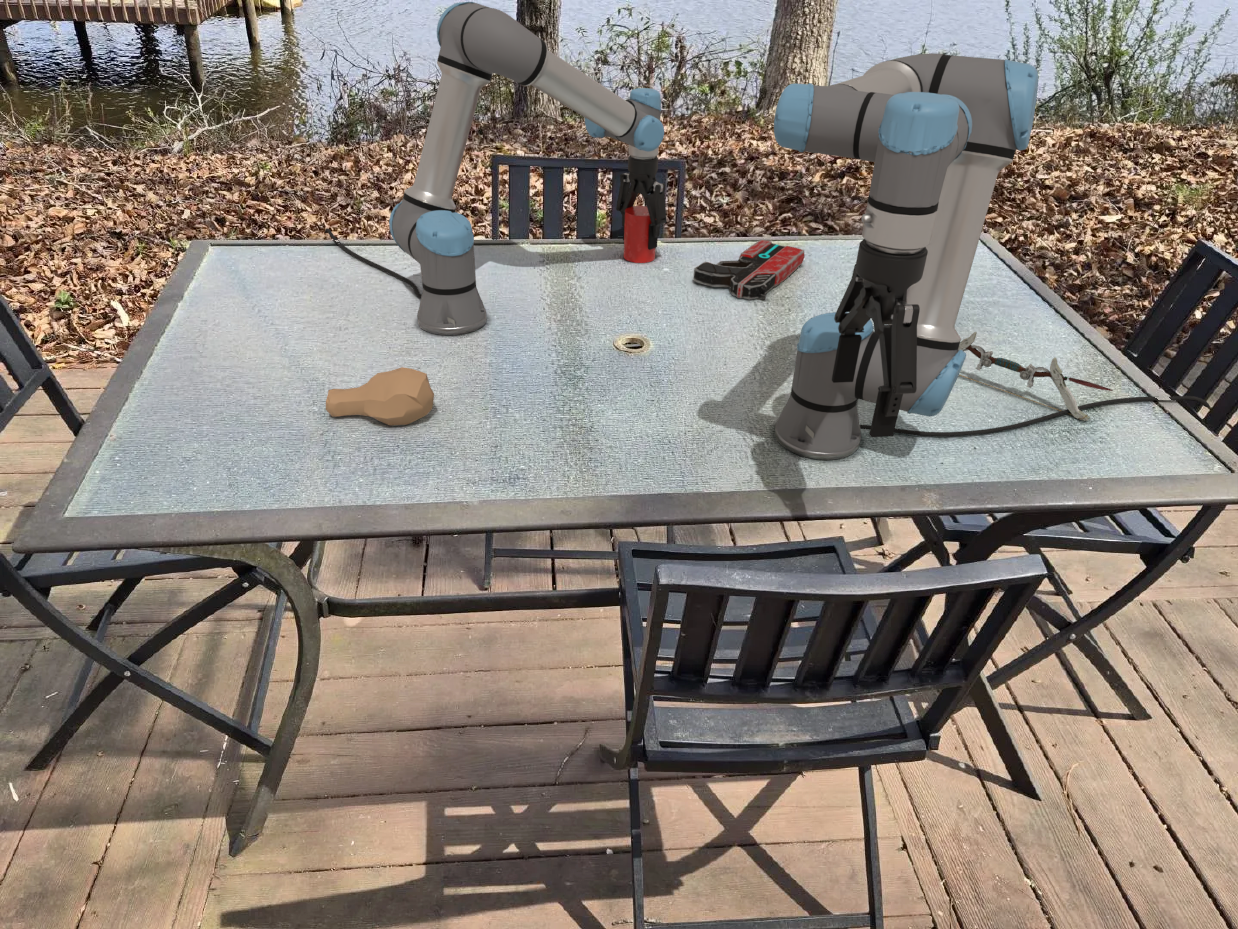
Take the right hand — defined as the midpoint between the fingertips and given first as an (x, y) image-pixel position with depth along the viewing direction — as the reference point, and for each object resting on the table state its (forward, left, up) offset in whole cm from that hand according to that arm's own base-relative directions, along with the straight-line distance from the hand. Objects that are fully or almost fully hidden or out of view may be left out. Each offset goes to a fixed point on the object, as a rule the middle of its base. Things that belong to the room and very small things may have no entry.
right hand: (860, 406), depth 110 cm
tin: (+7, -131, -29) cm, 135 cm away
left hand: (+7, -131, -26) cm, 134 cm away
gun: (-19, -116, -29) cm, 121 cm away
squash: (+67, -53, -29) cm, 90 cm away
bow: (-54, -52, -29) cm, 81 cm away
